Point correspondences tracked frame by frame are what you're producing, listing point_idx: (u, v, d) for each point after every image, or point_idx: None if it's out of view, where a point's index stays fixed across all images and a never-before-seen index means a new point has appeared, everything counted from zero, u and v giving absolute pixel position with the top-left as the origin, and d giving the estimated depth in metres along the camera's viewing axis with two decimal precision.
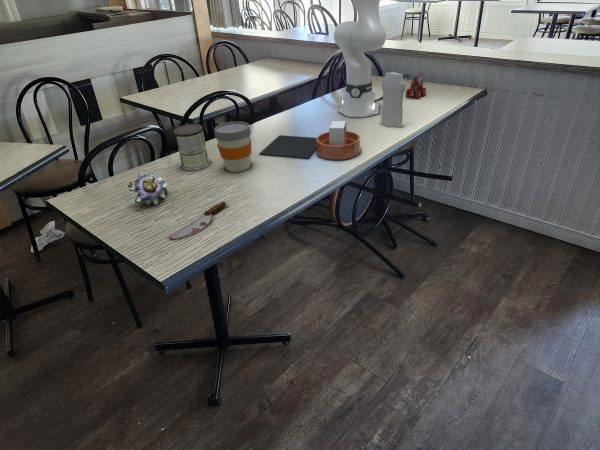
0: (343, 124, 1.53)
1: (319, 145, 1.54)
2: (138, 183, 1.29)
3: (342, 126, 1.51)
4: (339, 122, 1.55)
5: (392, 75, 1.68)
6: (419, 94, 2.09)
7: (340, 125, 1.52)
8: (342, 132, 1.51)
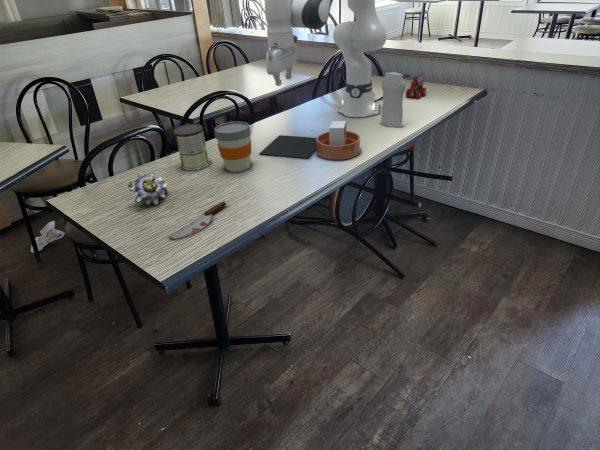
0: (343, 124, 1.53)
1: (319, 145, 1.54)
2: (138, 183, 1.29)
3: (342, 126, 1.51)
4: (339, 122, 1.55)
5: (392, 75, 1.68)
6: (419, 94, 2.09)
7: (340, 125, 1.52)
8: (342, 132, 1.51)
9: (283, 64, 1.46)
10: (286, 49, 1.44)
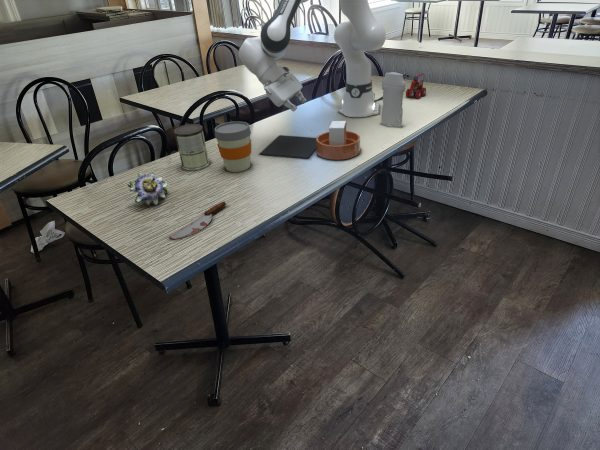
0: (343, 124, 1.53)
1: (319, 145, 1.54)
2: (138, 183, 1.29)
3: (342, 126, 1.51)
4: (339, 122, 1.55)
5: (392, 75, 1.68)
6: (419, 94, 2.09)
7: (340, 125, 1.52)
8: (342, 132, 1.51)
9: (286, 91, 1.50)
10: (280, 79, 1.50)
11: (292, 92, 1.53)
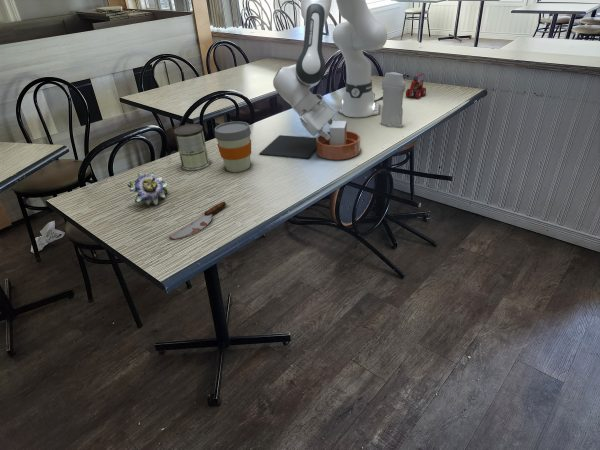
0: (344, 124, 1.53)
1: (319, 145, 1.54)
2: (138, 183, 1.29)
3: (343, 126, 1.51)
4: (340, 122, 1.55)
5: (392, 75, 1.68)
6: (419, 94, 2.09)
7: (341, 125, 1.52)
8: (343, 132, 1.51)
9: (321, 119, 1.51)
10: (315, 107, 1.51)
11: (326, 120, 1.54)
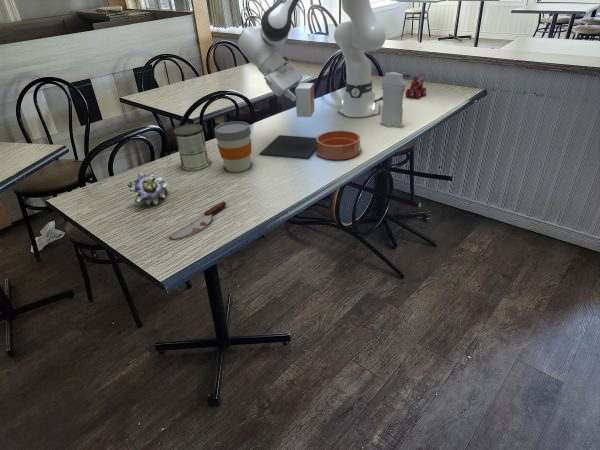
0: (310, 85, 1.50)
1: (319, 145, 1.54)
2: (138, 183, 1.29)
3: (309, 87, 1.49)
4: (306, 84, 1.53)
5: (392, 75, 1.68)
6: (419, 94, 2.09)
7: (307, 86, 1.50)
8: (309, 93, 1.48)
9: (286, 80, 1.49)
10: (280, 68, 1.49)
11: (292, 82, 1.51)
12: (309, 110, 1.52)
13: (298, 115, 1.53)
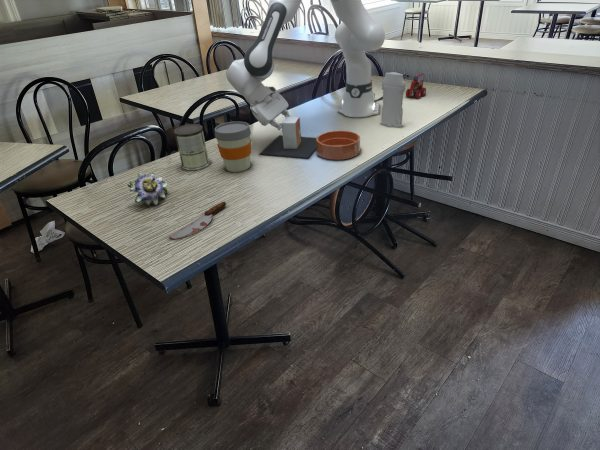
0: (295, 119, 1.60)
1: (319, 145, 1.54)
2: (138, 183, 1.29)
3: (294, 121, 1.58)
4: (292, 117, 1.62)
5: (392, 75, 1.68)
6: (419, 94, 2.09)
7: (293, 120, 1.59)
8: (294, 127, 1.58)
9: (272, 110, 1.58)
10: (267, 99, 1.58)
11: (278, 111, 1.60)
12: (295, 142, 1.61)
13: (285, 147, 1.63)
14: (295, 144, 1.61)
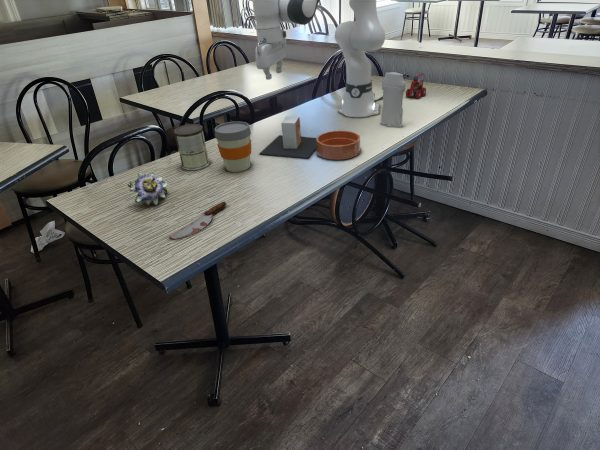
0: (295, 119, 1.60)
1: (319, 145, 1.54)
2: (138, 183, 1.29)
3: (294, 121, 1.58)
4: (292, 117, 1.62)
5: (392, 75, 1.68)
6: (419, 94, 2.09)
7: (293, 120, 1.59)
8: (294, 127, 1.58)
9: (272, 58, 1.51)
10: (275, 44, 1.49)
11: (276, 61, 1.54)
12: (295, 142, 1.61)
13: (285, 147, 1.63)
14: (295, 144, 1.61)
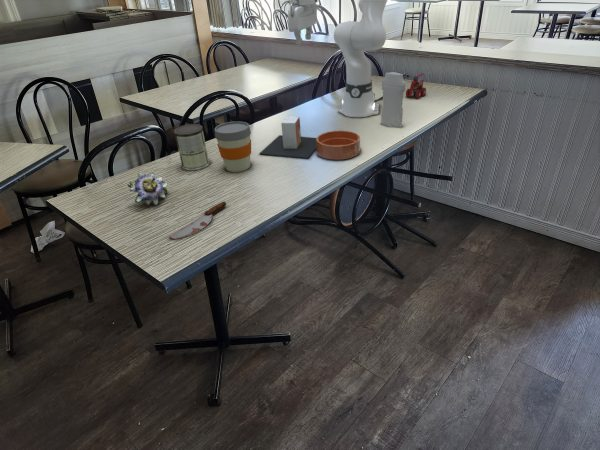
0: (295, 119, 1.60)
1: (319, 145, 1.54)
2: (138, 183, 1.29)
3: (294, 121, 1.58)
4: (292, 117, 1.62)
5: (392, 75, 1.68)
6: (419, 94, 2.09)
7: (293, 120, 1.59)
8: (294, 127, 1.58)
9: (304, 22, 1.47)
10: (307, 7, 1.46)
11: (307, 25, 1.50)
12: (295, 142, 1.61)
13: (285, 147, 1.63)
14: (295, 144, 1.61)
